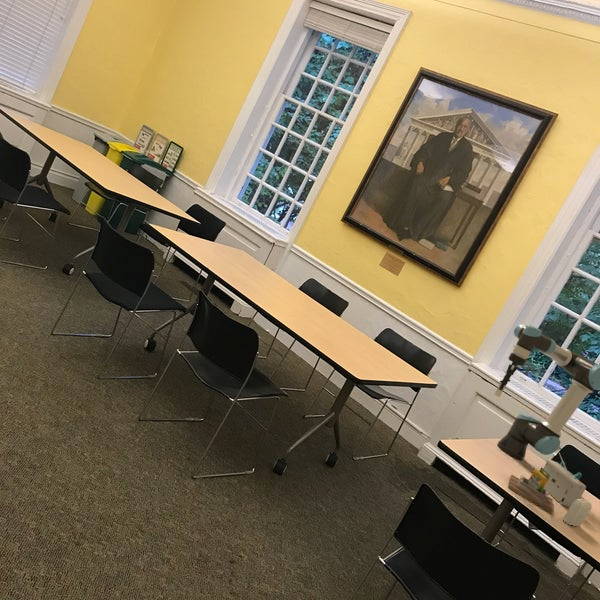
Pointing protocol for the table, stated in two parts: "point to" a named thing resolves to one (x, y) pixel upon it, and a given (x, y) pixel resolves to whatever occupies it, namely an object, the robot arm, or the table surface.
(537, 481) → the crayon box
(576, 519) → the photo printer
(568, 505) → the stereo radio cassette player
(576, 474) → the teal l-shaped bracket
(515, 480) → the walnut crayon stand
